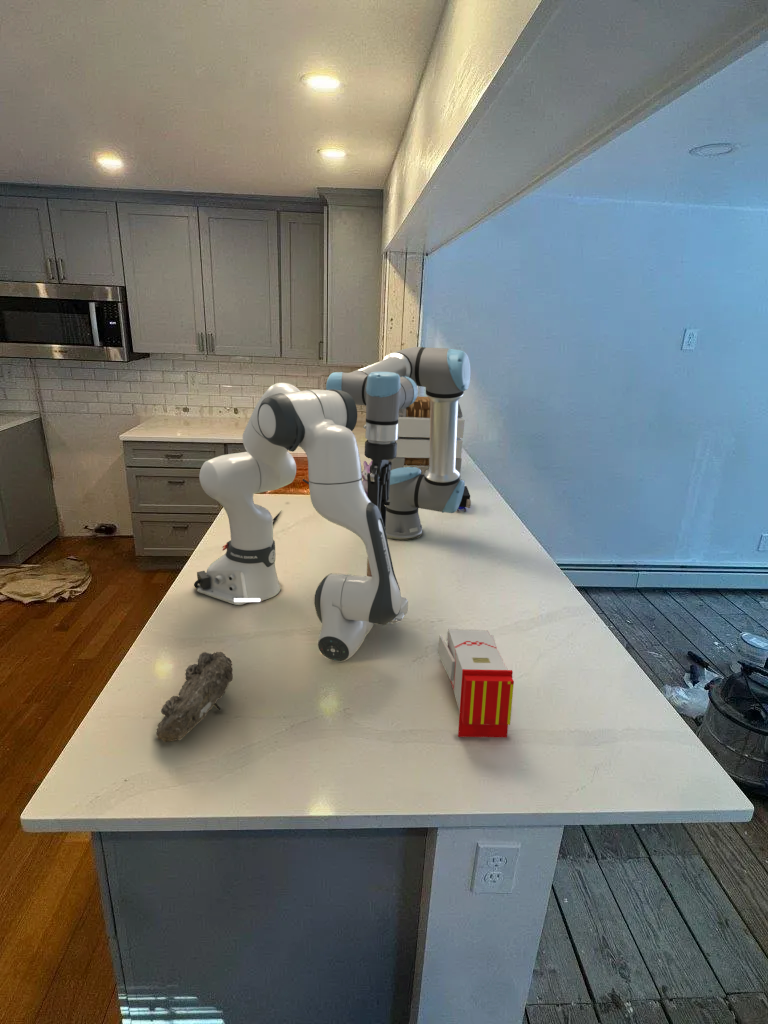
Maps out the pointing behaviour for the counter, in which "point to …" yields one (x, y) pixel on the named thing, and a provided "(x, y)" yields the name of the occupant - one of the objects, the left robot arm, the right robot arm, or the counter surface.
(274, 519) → the feather
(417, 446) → the white slatted crate
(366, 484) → the figurine
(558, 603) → the counter surface
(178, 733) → the fossil
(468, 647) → the toy
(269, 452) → the left robot arm
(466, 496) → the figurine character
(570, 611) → the counter surface
